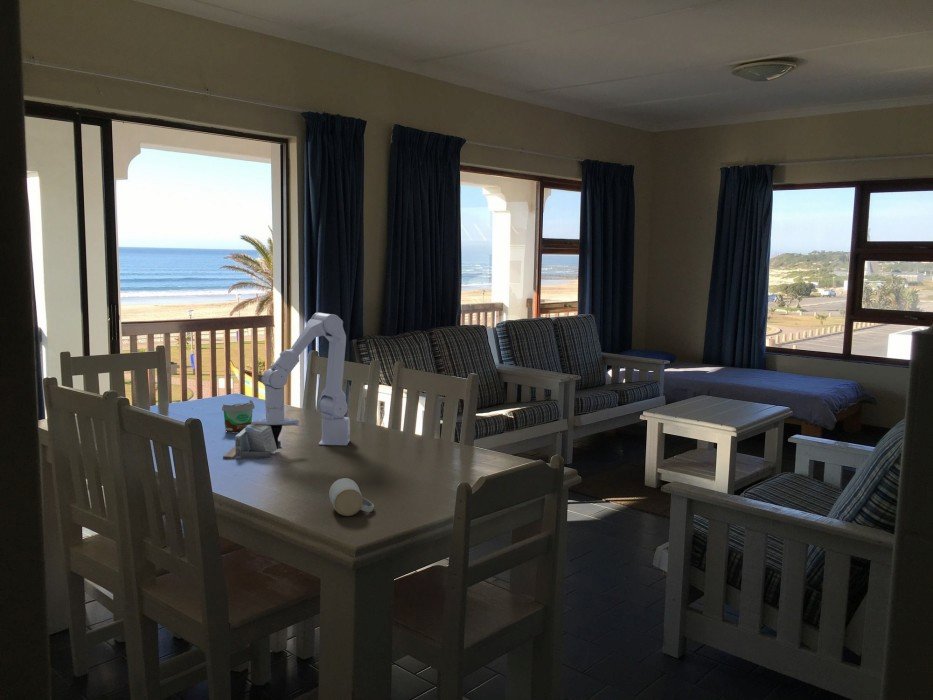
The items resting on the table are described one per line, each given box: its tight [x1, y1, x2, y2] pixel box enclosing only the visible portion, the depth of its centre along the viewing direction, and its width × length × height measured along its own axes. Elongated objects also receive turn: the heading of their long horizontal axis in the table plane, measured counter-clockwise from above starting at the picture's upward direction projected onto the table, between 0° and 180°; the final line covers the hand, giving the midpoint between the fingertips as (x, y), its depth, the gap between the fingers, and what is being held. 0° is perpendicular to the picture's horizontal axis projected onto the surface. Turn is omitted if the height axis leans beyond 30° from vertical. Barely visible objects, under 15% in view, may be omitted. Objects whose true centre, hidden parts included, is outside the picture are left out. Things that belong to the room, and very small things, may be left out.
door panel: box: [234, 425, 251, 459], centre depth 239 cm, size 2×17×7 cm, turn 2°
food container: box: [221, 399, 255, 433], centre depth 266 cm, size 12×6×10 cm, turn 143°
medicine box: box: [245, 424, 278, 454], centre depth 238 cm, size 8×4×9 cm, turn 54°
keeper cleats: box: [240, 440, 282, 459], centre depth 240 cm, size 9×15×2 cm, turn 2°
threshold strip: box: [222, 445, 236, 460], centre depth 239 cm, size 3×18×1 cm, turn 2°
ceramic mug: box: [328, 477, 375, 517], centre depth 186 cm, size 11×8×8 cm
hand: (275, 448), depth 240 cm, fingers closed, pressing on medicine box
